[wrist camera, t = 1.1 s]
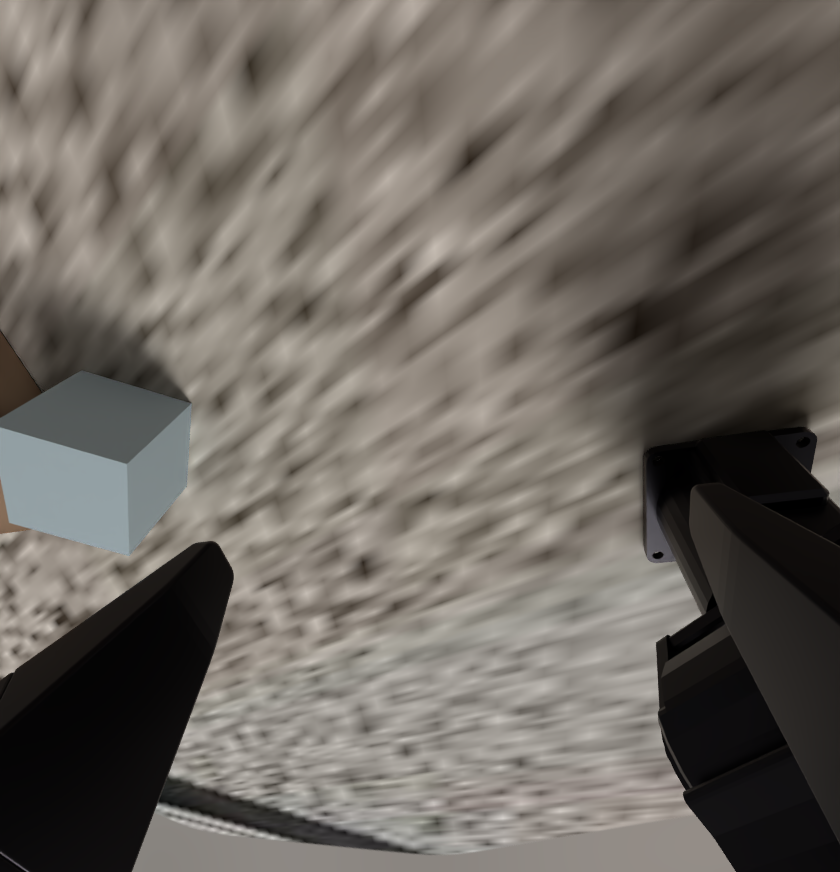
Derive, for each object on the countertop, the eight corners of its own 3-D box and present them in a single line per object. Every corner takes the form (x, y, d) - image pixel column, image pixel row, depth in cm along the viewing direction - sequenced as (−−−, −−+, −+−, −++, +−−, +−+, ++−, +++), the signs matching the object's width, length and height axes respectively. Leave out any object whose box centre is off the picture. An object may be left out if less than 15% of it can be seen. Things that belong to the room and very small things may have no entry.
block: (192, 402, 23) (126, 464, 18) (187, 485, 25) (129, 555, 21) (82, 369, 22) (-11, 424, 18) (89, 456, 25) (9, 522, 20)
